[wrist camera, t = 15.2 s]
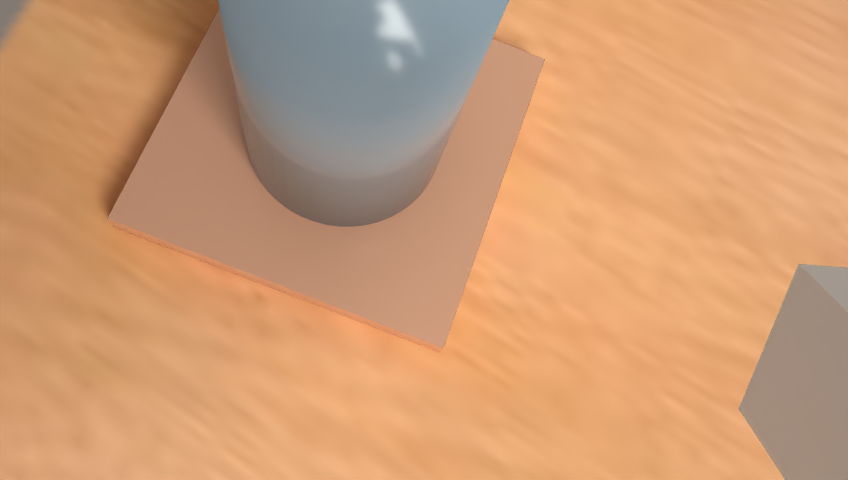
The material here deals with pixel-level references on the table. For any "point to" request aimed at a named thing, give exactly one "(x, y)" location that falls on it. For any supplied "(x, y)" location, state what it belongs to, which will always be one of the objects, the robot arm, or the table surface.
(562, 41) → the table surface
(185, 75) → the terracotta tile
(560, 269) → the table surface
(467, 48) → the grey canister
